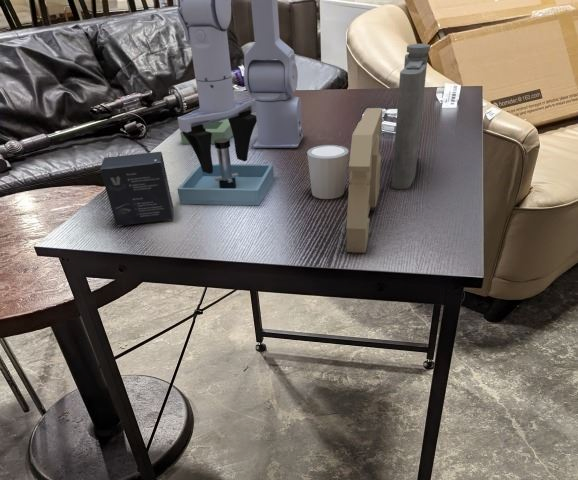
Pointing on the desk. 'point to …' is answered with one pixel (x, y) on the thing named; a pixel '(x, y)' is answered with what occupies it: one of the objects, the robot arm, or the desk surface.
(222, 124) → the green square holder
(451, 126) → the desk surface
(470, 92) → the desk surface
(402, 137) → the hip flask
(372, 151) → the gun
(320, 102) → the desk surface
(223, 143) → the silver black capped cylinder
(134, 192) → the box
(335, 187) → the white cup
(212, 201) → the tray
